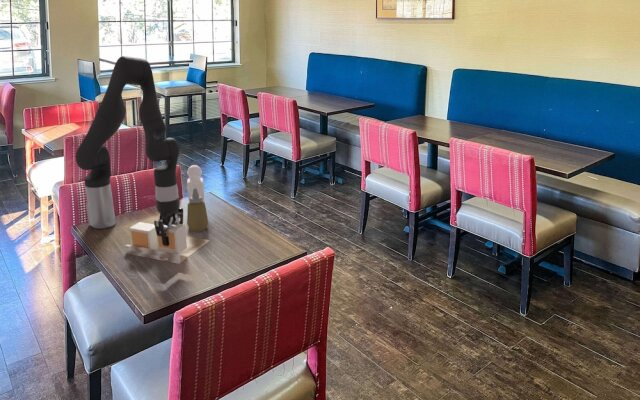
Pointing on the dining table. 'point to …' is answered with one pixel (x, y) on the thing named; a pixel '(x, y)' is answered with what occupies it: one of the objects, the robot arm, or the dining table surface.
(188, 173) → the white figurine
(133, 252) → the shelf board
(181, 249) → the turned carton
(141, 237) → the faced carton
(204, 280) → the dining table surface
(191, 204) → the squeeze bottle
